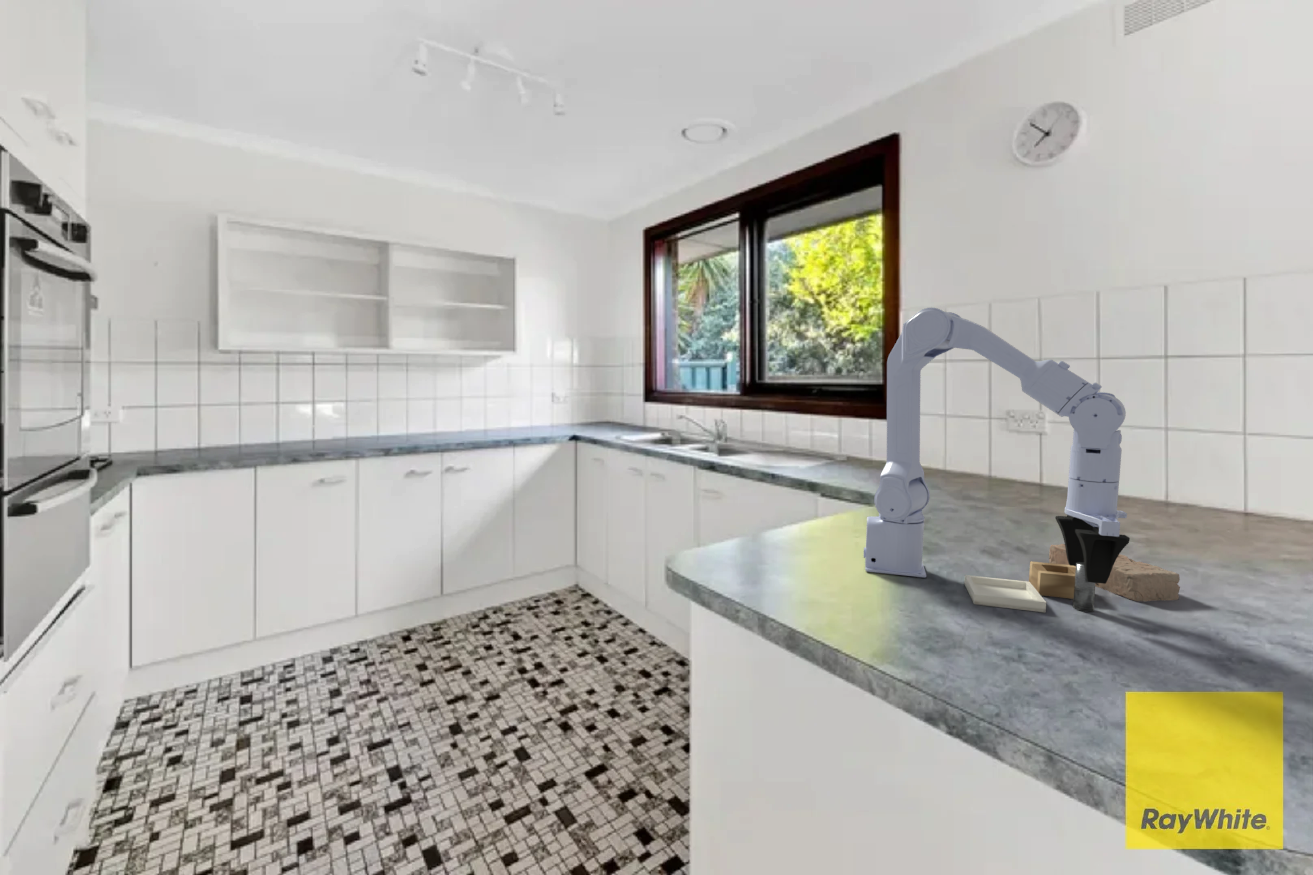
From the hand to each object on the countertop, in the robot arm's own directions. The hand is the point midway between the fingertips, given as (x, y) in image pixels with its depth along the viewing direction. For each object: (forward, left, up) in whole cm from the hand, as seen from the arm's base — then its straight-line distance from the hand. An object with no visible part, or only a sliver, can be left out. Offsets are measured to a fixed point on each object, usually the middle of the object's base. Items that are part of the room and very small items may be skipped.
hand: (1086, 573), depth 84 cm
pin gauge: (0, 0, -5) cm, 5 cm away
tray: (-10, +1, -5) cm, 11 cm away
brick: (+8, +15, -6) cm, 18 cm away
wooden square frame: (-2, +7, -5) cm, 9 cm away
